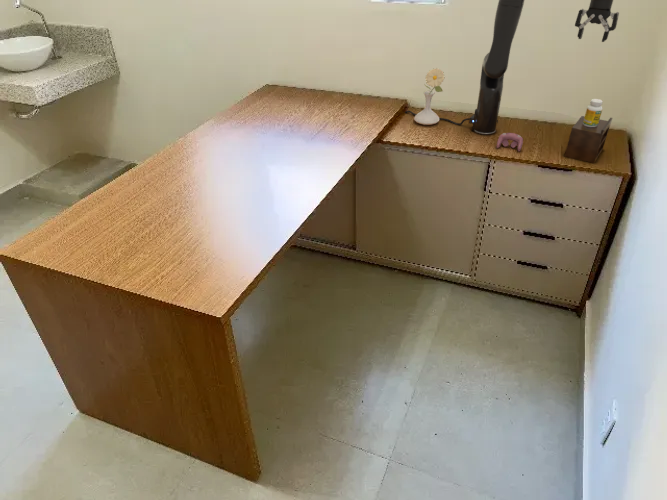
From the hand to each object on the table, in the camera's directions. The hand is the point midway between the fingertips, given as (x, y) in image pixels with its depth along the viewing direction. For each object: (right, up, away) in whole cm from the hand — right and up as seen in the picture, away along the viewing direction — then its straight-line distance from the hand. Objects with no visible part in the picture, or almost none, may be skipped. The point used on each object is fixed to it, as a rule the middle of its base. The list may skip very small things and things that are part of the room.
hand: (591, 40), depth 196 cm
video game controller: (-28, -40, +11) cm, 50 cm away
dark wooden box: (0, -43, +6) cm, 43 cm away
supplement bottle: (-1, -34, -2) cm, 34 cm away
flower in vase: (-57, -24, +35) cm, 71 cm away
